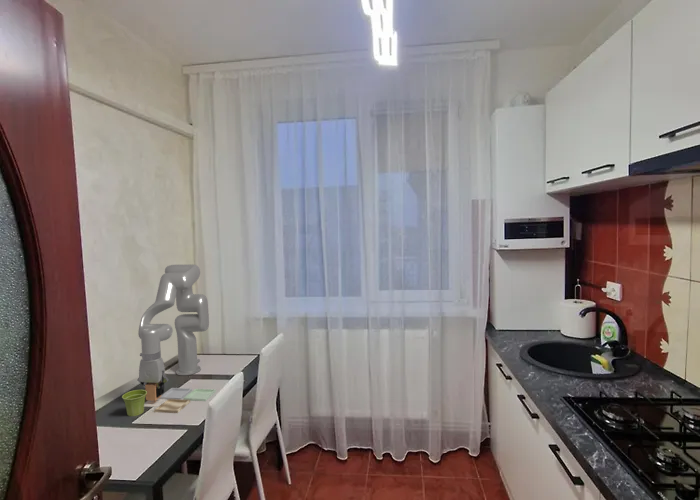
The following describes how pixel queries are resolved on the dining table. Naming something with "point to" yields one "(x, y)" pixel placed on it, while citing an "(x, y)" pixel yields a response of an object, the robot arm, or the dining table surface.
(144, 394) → the plant pot
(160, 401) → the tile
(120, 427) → the dining table surface
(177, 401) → the tray birch
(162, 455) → the dining table surface
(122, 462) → the dining table surface
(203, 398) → the tray green
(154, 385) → the letter block
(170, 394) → the tray grey
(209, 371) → the dining table surface
